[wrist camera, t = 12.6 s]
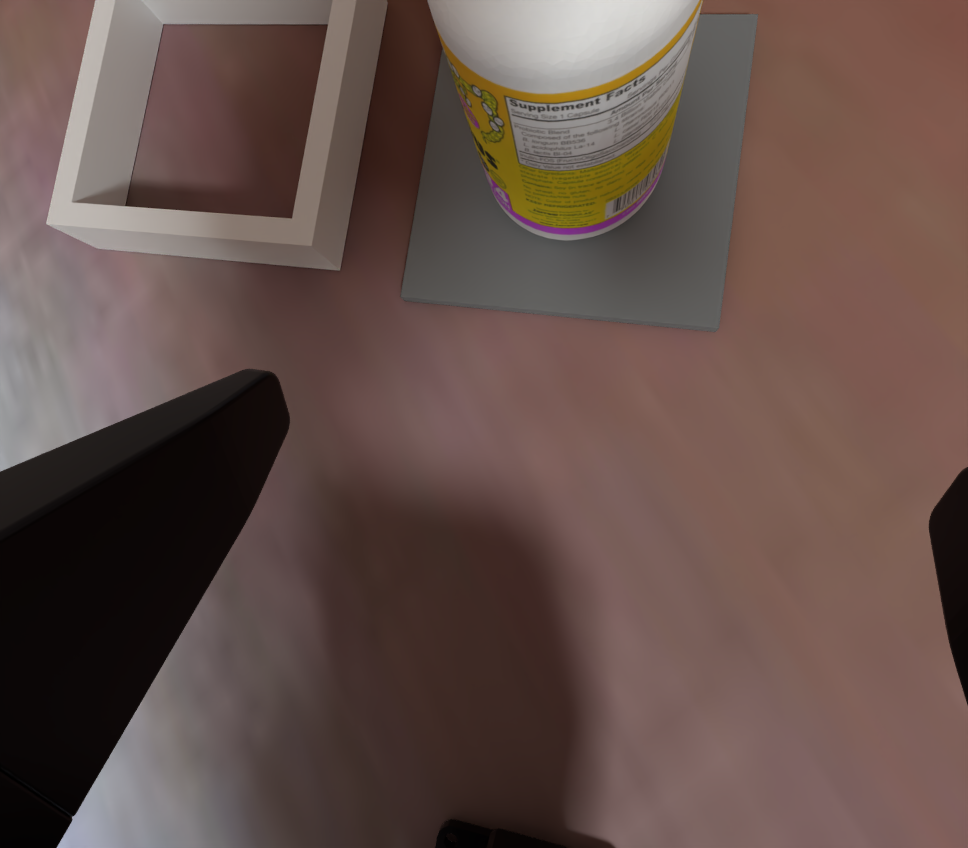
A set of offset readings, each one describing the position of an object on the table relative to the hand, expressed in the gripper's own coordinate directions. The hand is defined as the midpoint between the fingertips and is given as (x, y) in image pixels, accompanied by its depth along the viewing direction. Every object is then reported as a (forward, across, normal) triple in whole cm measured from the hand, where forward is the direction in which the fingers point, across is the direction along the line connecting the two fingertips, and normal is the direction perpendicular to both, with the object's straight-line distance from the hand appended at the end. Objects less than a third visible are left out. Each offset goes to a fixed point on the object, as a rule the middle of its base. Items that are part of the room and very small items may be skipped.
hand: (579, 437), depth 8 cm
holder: (+18, +17, +1) cm, 25 cm away
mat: (+18, +2, +1) cm, 18 cm away
